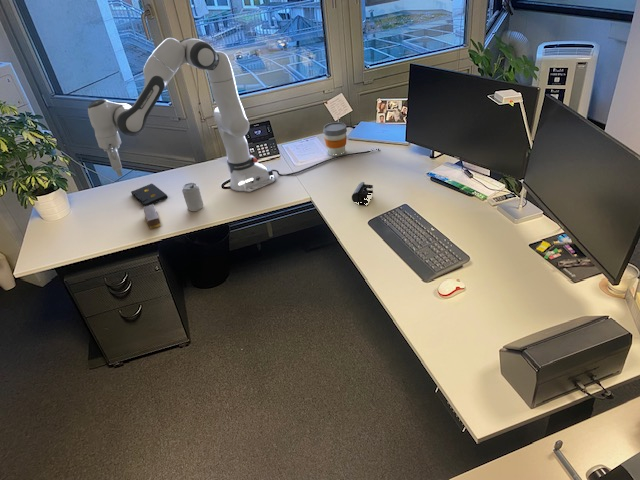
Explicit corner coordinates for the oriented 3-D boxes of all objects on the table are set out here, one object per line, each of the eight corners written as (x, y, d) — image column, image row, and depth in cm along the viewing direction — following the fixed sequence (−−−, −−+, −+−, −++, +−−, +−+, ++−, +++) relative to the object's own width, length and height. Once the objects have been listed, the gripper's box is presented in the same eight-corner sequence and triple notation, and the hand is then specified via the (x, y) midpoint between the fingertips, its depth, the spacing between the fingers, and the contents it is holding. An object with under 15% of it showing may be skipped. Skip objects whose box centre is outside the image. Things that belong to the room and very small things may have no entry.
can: (200, 212, 215) (193, 189, 208) (185, 211, 216) (178, 189, 209) (206, 203, 221) (200, 181, 214) (192, 203, 222) (185, 181, 215)
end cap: (358, 194, 215) (357, 181, 211) (373, 195, 213) (372, 182, 209) (351, 205, 208) (351, 191, 204) (367, 206, 205) (366, 193, 201)
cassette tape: (131, 195, 235) (130, 191, 234) (153, 186, 241) (151, 182, 239) (145, 207, 223) (144, 203, 222) (167, 198, 229) (166, 194, 228)
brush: (156, 212, 219) (153, 204, 216) (161, 226, 208) (158, 217, 205) (145, 215, 217) (142, 207, 214) (150, 229, 206) (147, 221, 204)
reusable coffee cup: (337, 145, 261) (335, 120, 252) (352, 151, 253) (351, 125, 244) (320, 153, 255) (318, 127, 246) (335, 159, 247) (333, 133, 238)
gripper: (119, 147, 182) (129, 179, 189) (115, 131, 197) (124, 161, 205) (102, 151, 179) (113, 183, 187) (99, 134, 195) (109, 164, 203)
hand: (119, 171), depth 196 cm, fingers open, 8 cm apart
